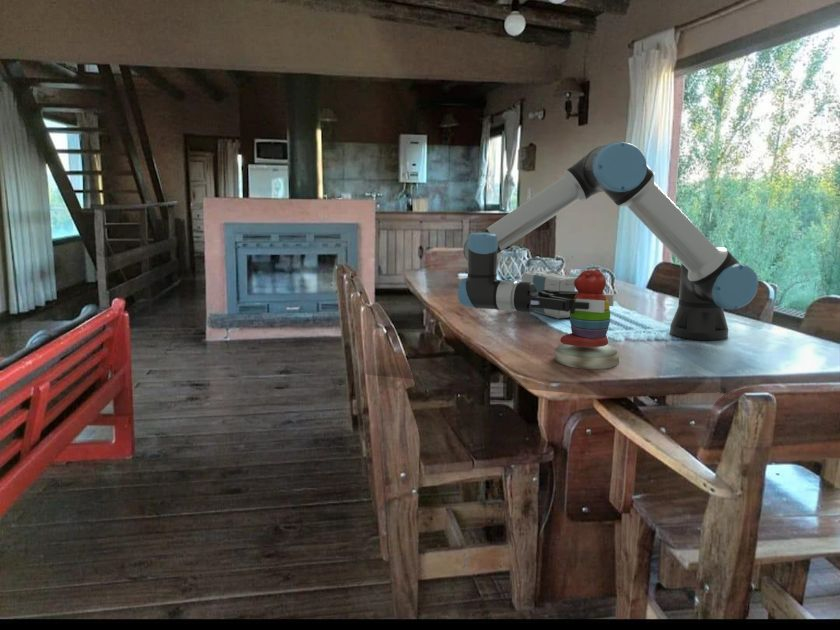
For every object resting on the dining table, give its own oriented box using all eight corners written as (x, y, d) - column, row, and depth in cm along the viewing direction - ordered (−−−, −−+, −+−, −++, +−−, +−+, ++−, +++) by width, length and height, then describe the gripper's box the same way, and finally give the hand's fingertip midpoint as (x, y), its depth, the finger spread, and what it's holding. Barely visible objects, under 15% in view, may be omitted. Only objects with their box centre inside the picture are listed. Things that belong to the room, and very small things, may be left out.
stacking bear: (581, 335, 162) (584, 265, 159) (618, 342, 155) (622, 269, 152) (556, 342, 155) (559, 269, 152) (593, 350, 148) (597, 273, 144)
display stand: (619, 355, 160) (620, 343, 160) (617, 371, 146) (618, 358, 146) (558, 351, 165) (559, 339, 164) (551, 366, 151) (551, 353, 151)
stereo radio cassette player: (520, 309, 223) (521, 252, 219) (540, 307, 226) (541, 251, 222) (556, 320, 204) (558, 257, 200) (577, 318, 207) (579, 256, 203)
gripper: (531, 304, 171) (617, 311, 161) (501, 318, 153) (597, 327, 142) (532, 276, 170) (619, 281, 159) (502, 287, 151) (598, 294, 141)
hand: (608, 303), depth 151 cm, fingers closed on stacking bear, 9 cm apart
